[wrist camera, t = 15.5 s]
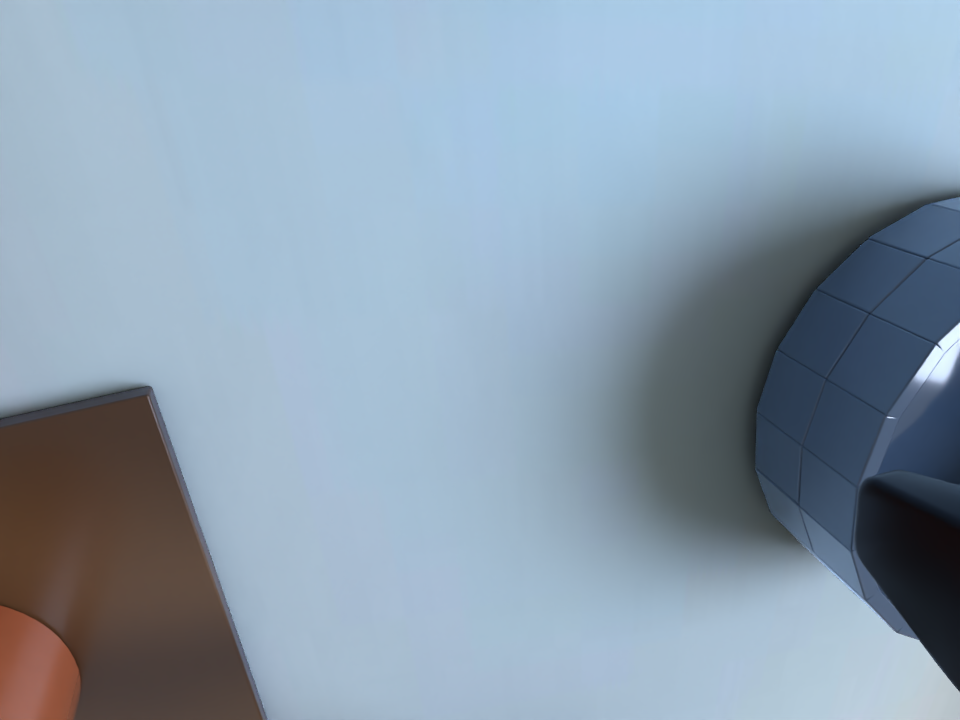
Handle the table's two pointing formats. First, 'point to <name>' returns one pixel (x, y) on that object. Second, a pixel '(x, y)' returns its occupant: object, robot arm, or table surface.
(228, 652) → the coaster board
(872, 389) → the bowl
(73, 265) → the table surface
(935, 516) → the robot arm
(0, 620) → the cup
